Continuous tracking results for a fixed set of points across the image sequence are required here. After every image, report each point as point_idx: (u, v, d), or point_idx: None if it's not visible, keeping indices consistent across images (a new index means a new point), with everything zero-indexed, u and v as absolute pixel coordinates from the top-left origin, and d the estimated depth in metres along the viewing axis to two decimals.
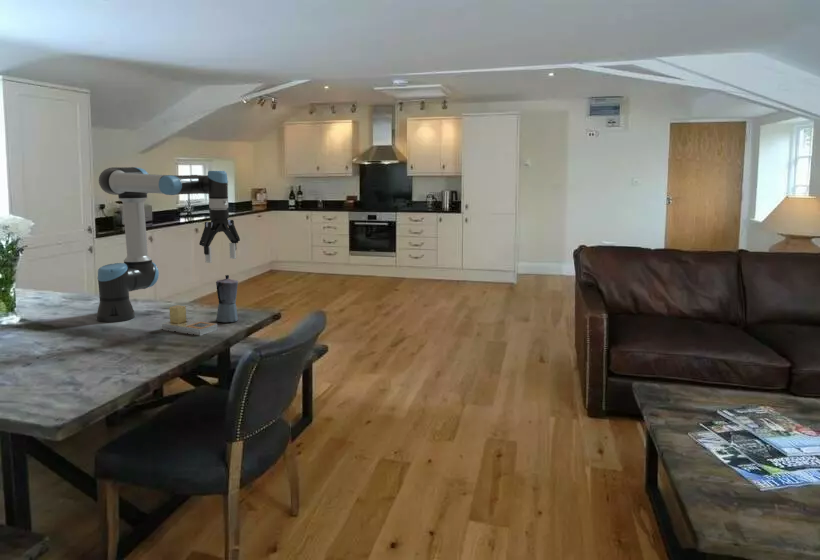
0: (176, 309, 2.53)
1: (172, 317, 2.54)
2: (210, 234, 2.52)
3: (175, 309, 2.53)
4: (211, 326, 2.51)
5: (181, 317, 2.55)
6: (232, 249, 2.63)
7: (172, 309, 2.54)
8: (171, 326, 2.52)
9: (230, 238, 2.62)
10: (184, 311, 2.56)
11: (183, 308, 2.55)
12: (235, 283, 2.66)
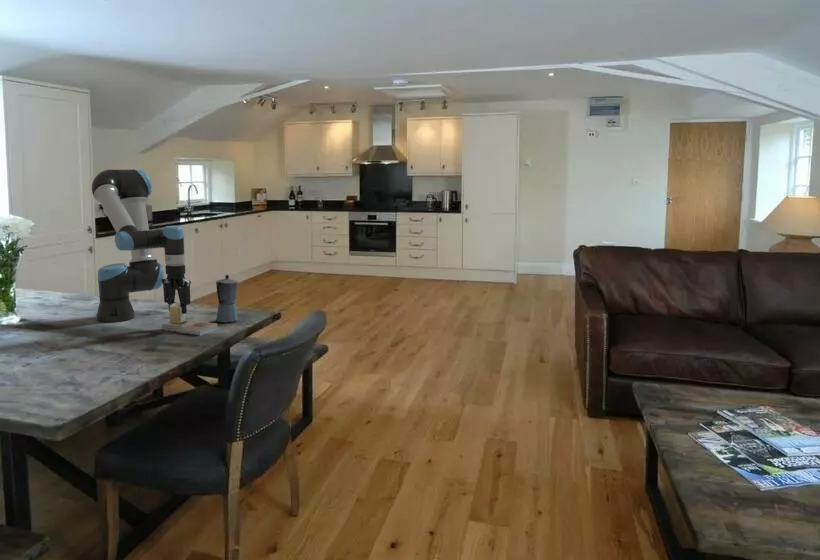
0: (176, 309, 2.53)
1: (172, 317, 2.54)
2: None
3: (175, 309, 2.53)
4: (211, 326, 2.51)
5: None
6: None
7: (172, 309, 2.54)
8: (171, 326, 2.52)
9: None
10: None
11: None
12: (235, 283, 2.66)
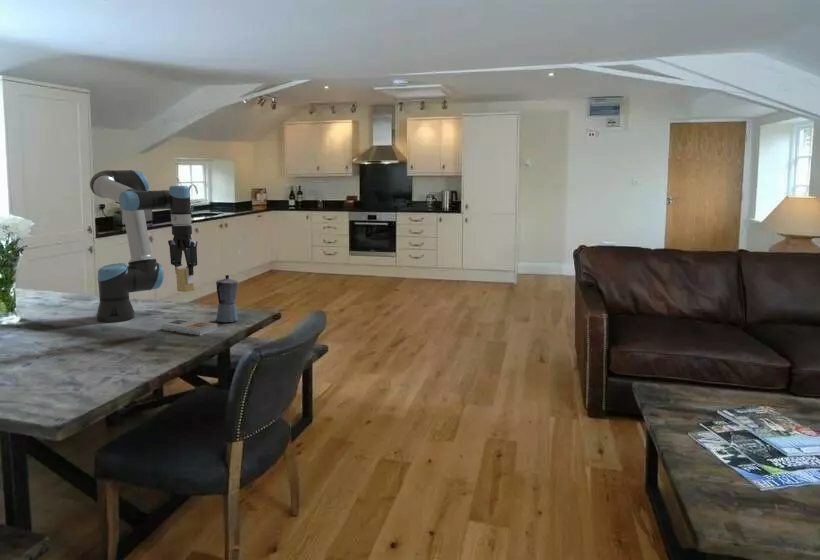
0: (183, 270, 2.48)
1: (179, 279, 2.49)
2: None
3: (182, 270, 2.48)
4: (211, 326, 2.51)
5: None
6: None
7: (179, 271, 2.49)
8: (171, 326, 2.52)
9: None
10: None
11: None
12: (235, 283, 2.66)
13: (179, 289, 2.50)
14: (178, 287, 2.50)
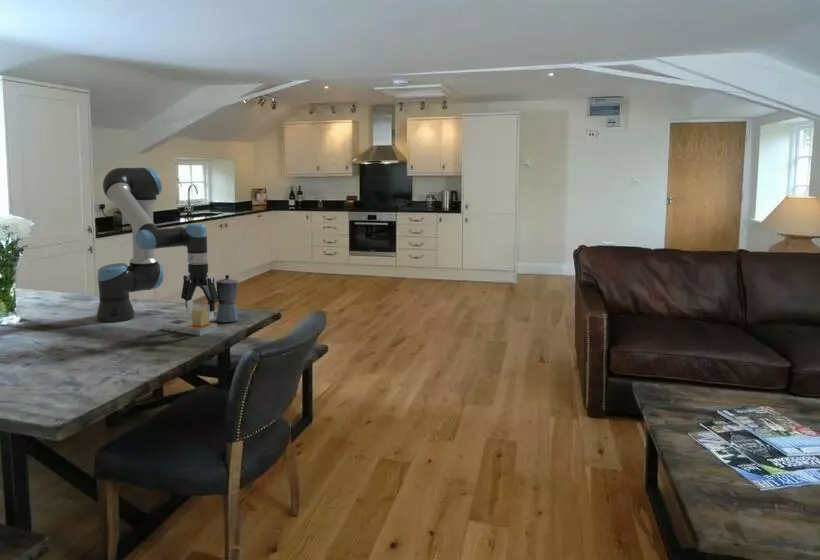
0: (199, 312, 2.48)
1: (194, 320, 2.50)
2: None
3: (198, 312, 2.48)
4: (211, 326, 2.51)
5: (204, 321, 2.50)
6: None
7: (195, 312, 2.49)
8: (171, 326, 2.52)
9: None
10: None
11: (206, 311, 2.50)
12: (235, 283, 2.66)
13: None
14: None
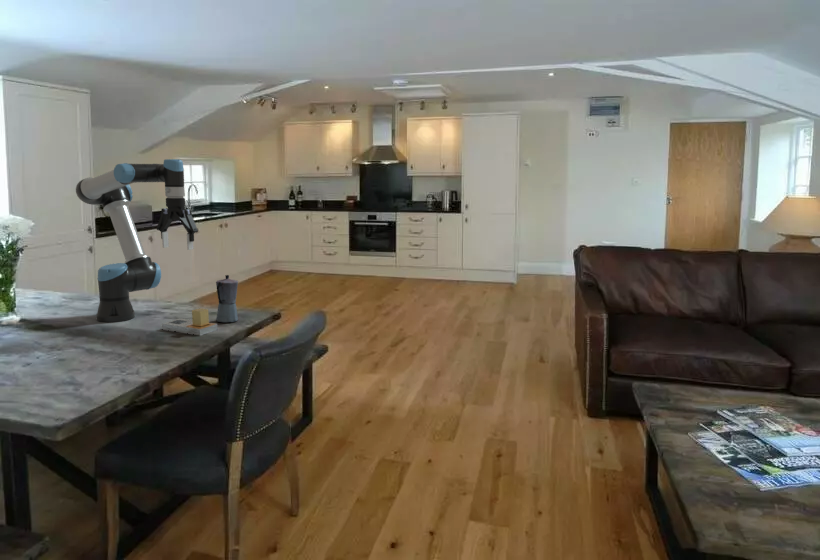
0: (199, 312, 2.48)
1: (194, 320, 2.50)
2: None
3: (198, 312, 2.48)
4: (211, 326, 2.51)
5: (204, 321, 2.50)
6: None
7: (195, 312, 2.49)
8: (171, 326, 2.52)
9: None
10: (207, 314, 2.51)
11: (206, 311, 2.50)
12: (235, 283, 2.66)
13: None
14: None
